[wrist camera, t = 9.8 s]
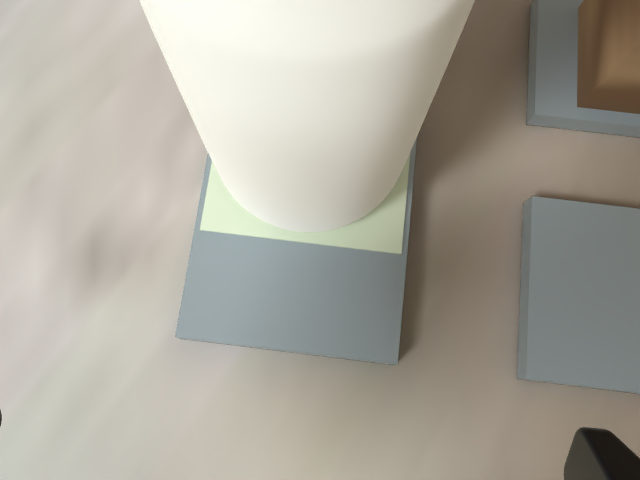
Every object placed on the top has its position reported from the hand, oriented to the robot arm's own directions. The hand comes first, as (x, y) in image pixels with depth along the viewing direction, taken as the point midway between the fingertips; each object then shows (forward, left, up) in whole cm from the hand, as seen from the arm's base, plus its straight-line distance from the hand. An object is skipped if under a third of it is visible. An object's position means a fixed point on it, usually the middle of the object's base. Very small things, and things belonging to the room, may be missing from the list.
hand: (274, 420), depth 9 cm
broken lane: (+13, -3, -10) cm, 17 cm away
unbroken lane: (+6, +6, -10) cm, 13 cm away
